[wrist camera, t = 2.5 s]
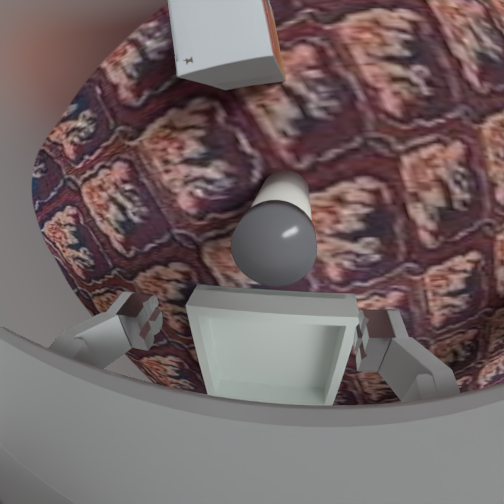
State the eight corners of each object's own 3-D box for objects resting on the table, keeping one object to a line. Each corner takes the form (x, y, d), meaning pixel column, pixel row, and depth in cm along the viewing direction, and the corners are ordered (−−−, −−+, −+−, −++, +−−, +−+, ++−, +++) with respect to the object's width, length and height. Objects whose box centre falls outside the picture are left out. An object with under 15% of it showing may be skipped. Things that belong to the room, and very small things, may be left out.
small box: (286, 82, 21) (276, 59, 12) (224, 91, 22) (175, 80, 13) (272, 6, 17) (253, -49, 8) (212, 17, 18) (161, -25, 9)
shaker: (312, 168, 24) (319, 210, 14) (310, 217, 26) (313, 288, 16) (259, 167, 25) (228, 207, 15) (260, 215, 27) (233, 283, 17)
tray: (354, 293, 29) (359, 317, 26) (331, 387, 38) (331, 408, 34) (197, 284, 32) (185, 305, 29) (215, 377, 41) (208, 397, 37)
